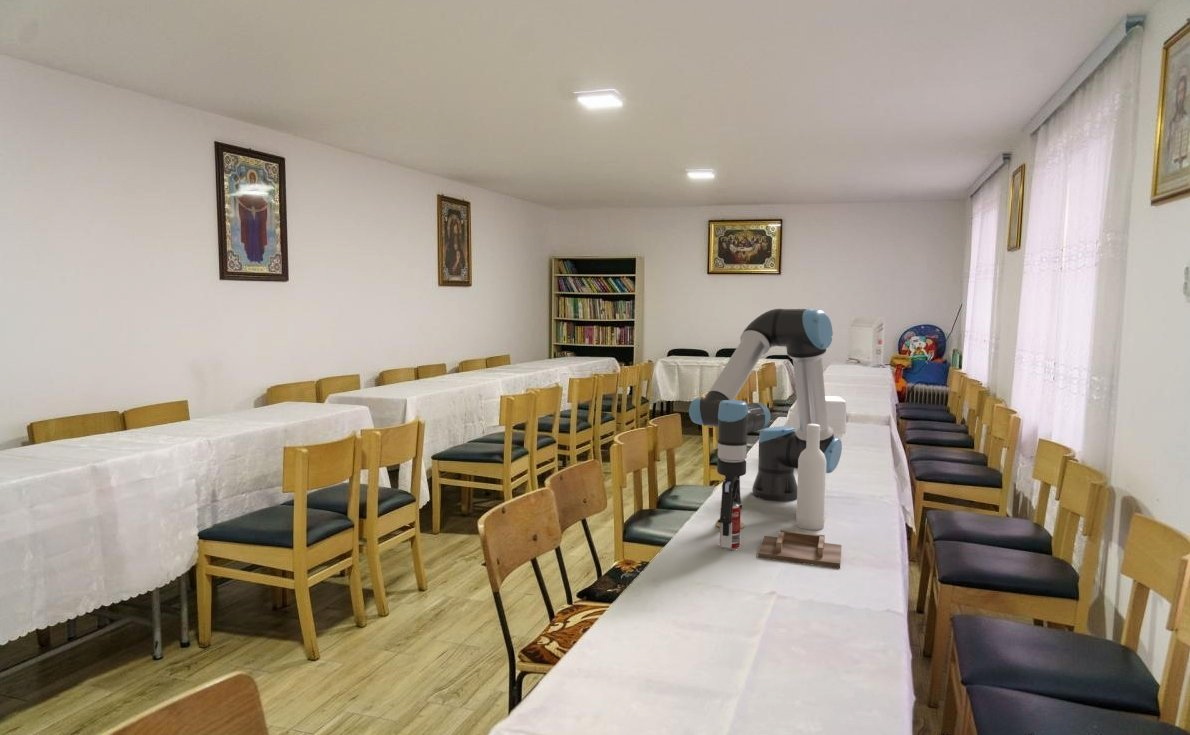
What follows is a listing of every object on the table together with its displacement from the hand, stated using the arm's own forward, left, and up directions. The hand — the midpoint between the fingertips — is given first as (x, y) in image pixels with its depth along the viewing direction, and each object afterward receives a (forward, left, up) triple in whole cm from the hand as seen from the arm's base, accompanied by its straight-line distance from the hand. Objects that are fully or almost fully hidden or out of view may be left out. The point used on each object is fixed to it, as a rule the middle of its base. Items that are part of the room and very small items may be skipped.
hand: (729, 539), depth 187 cm
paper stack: (-116, +14, -2) cm, 117 cm away
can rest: (-2, +18, -2) cm, 18 cm away
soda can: (0, 0, -2) cm, 2 cm away
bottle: (-26, +19, -2) cm, 32 cm away
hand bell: (-18, -3, -2) cm, 18 cm away
